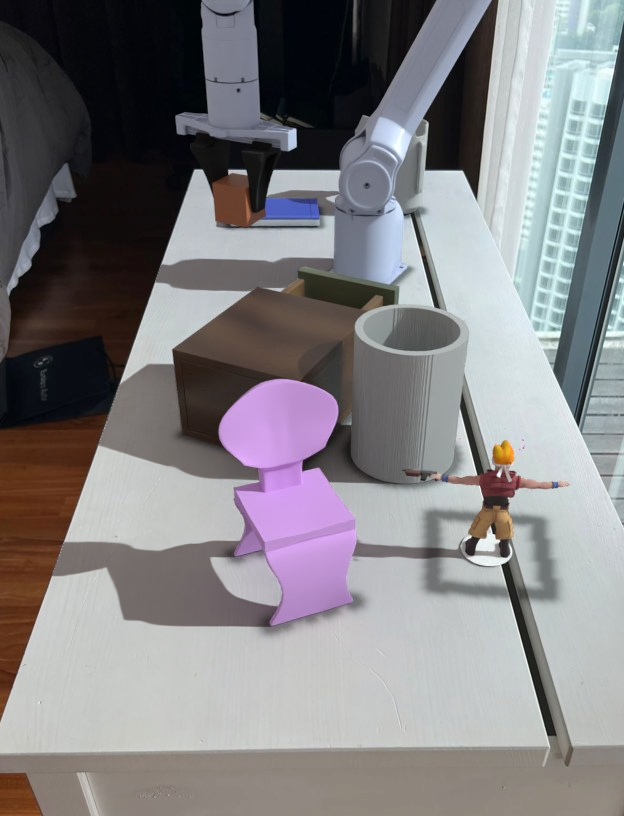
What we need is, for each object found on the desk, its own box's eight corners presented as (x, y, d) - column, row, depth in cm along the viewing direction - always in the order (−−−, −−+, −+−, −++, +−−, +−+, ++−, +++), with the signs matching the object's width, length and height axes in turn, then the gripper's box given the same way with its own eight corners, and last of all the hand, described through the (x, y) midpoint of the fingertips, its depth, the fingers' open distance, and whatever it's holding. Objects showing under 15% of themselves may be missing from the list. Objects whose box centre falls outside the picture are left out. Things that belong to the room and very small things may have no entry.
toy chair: (259, 635, 57) (247, 452, 48) (220, 557, 64) (203, 381, 54) (369, 602, 60) (379, 423, 50) (322, 531, 66) (323, 358, 57)
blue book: (230, 216, 116) (319, 216, 117) (232, 196, 122) (317, 196, 123) (230, 227, 117) (319, 227, 118) (232, 207, 123) (317, 207, 124)
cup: (335, 437, 77) (337, 314, 69) (423, 418, 79) (434, 297, 72) (377, 493, 70) (385, 363, 63) (472, 469, 73) (490, 343, 65)
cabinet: (260, 366, 87) (257, 286, 81) (368, 393, 83) (371, 311, 77) (181, 435, 76) (171, 349, 71) (300, 469, 73) (298, 381, 67)
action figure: (395, 559, 64) (403, 456, 58) (396, 534, 66) (404, 433, 60) (554, 569, 63) (579, 466, 57) (550, 544, 66) (573, 443, 60)
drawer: (320, 311, 95) (320, 252, 90) (410, 332, 91) (415, 271, 87) (240, 381, 82) (236, 316, 78) (341, 407, 79) (342, 341, 75)
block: (234, 210, 102) (232, 172, 100) (265, 216, 101) (264, 178, 98) (215, 221, 99) (212, 182, 96) (247, 227, 98) (245, 188, 95)
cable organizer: (379, 190, 131) (383, 106, 123) (433, 213, 123) (441, 124, 116) (345, 199, 127) (347, 112, 120) (399, 222, 120) (405, 132, 112)
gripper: (154, 77, 90) (169, 206, 99) (272, 93, 85) (277, 227, 94) (190, 65, 95) (201, 189, 104) (304, 79, 90) (306, 208, 99)
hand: (239, 206), depth 99 cm, fingers closed on block, 4 cm apart
